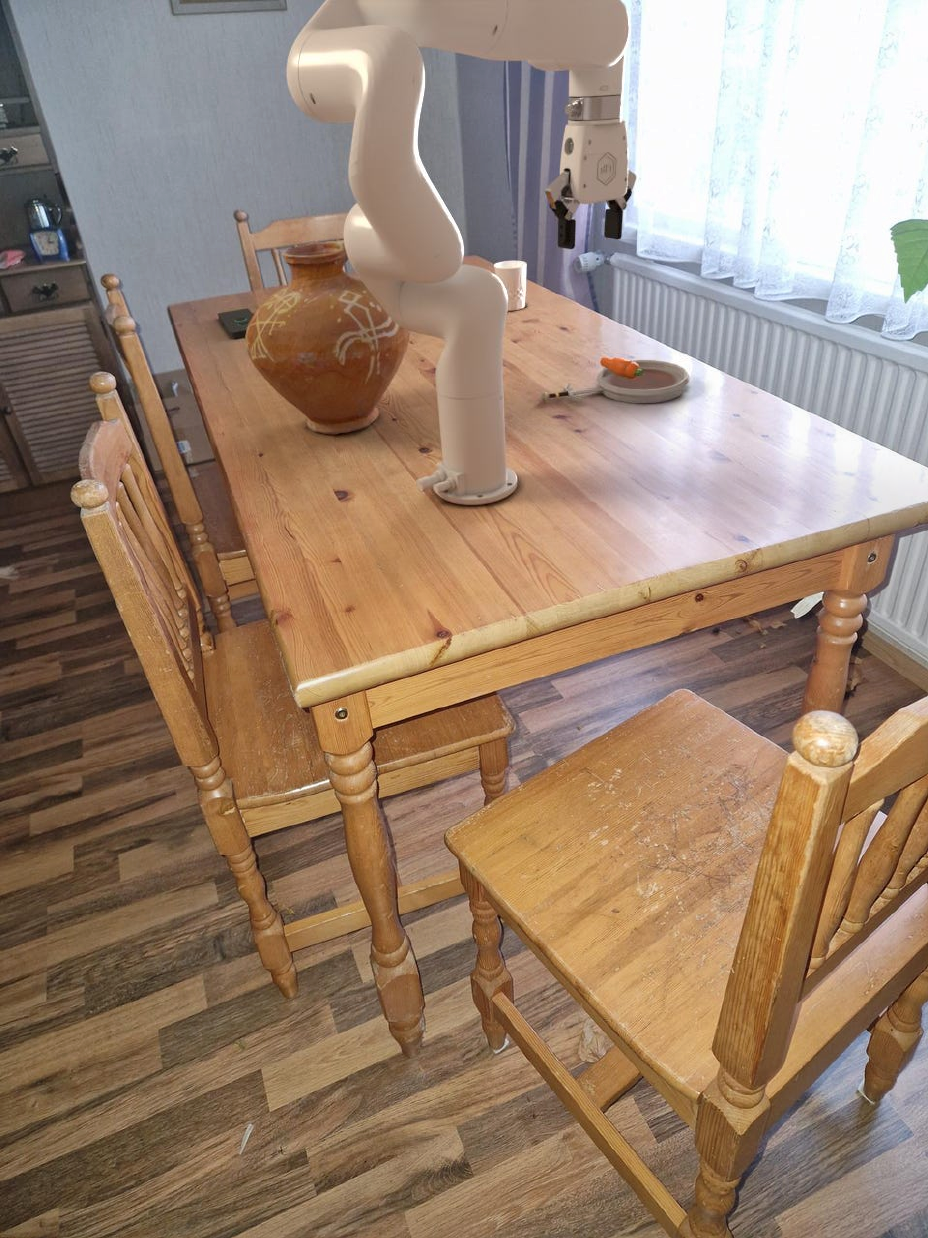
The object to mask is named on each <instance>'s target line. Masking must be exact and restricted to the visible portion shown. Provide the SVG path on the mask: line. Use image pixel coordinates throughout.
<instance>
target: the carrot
mask: <svg viewBox="0 0 928 1238" xmlns="http://www.w3.org/2000/svg"><path fill="white" fill-rule="evenodd" d="M599 363H600V366H602V367H603V368H605V367H606V368H609V369H610V371H611V372H612V373H614V374H617V375H620V376H623V377H626V378H629V379H633V378H636V377H637V376H641V375H642V374H643V371H642V370H640V367H639V365H638V364H637V363H635V362H633V361H631V360H630V359H626V358H623V357H619V356H617V357H614V358H612V357H608V356H603V357H602V358H601V359H600V362H599Z"/></svg>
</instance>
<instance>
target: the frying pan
mask: <svg viewBox="0 0 928 1238" xmlns="http://www.w3.org/2000/svg"><path fill="white" fill-rule="evenodd" d="M630 361H633V362H635V363H637V364H638V365H639V367H640V370H642V371H643V374H642V375H641V376H637V377H636V378H633V379H629V378H626V377H623V376H620V375H617V374H614V373H612V372H611V371H610V369H609V368H606V367H603V368H602V369H601V370H600V371H599V373H598V374H597V376H596V379H595V380H596V382H597V384H598V386H595V387H588V388H582V389H574V390H569V388H570V386H571V385H570V384H571V383H570V382H568V383H566V385H565V386H564V387H563V391H561V392H554V393H548V392H546V391H544V392H543V393H542V394H541V400H542V401H543V402H548V401H549V400H550V399H554V398H562V397H568V398H569V399H570V400H571V401H574V402H577V403H580V404H582V402H583V398H582V397H579V396H576V395H583V394H584V395H585V394H591V393H599V392H601V394H603V395H604V396H605V397H607V398H608V399H611V400H614V401H618V402H623V403H627V404H628V403H629V404H656V403H662V402H667V401H670V400H671V401H672V400H673V399H675V398H677V397H680V396H681V395H682V394H683V393H684V391H685V390H686V387H687V385H688V384H689V383H690V378H691V376H690V375H689V373H688V371H687V369H686V368H684V367H682V366H681V365H678V364H676V363H673V362H668V361H665V360H656V359H631V360H630Z"/></svg>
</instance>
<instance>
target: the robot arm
mask: <svg viewBox="0 0 928 1238" xmlns="http://www.w3.org/2000/svg"><path fill="white" fill-rule="evenodd" d="M630 35H631V23H630V17H629V14H628V10H627V7H626V5H625V4H624V3H623V1H622V0H324V2H323V3H322V4H321V5H320V6H319V8H318V9H317V10H316V12H315V13H314V14H313V15H312V17H311V18H310V19H309V21H307V23H306V24H305V25H304V26H303V27H302V29H301V31H300V32H299V33H298V34H297V35H296V38H295V39H294V41H293V44H292V45H291V47H290V50H289V53H288V57H287V62H286V81H287V88H288V90H289V93H290V96H291V98H292V100H293V102H294V104H295V106H297V108H298V109H299V110H300V111H301V112H302V113H303V114H304V115H305V116H307V117H308V118H310V119H312V120H315V121H318V122H321V123H329V124H334V123H335V124H336V123H338V124H340V123H343V124H346V123H347V124H348V123H349V124H351V123H352V124H353V127H352V136H351V144H350V151H349V157H348V158H349V159H348V167H347V168H348V169H347V172H348V173H347V175H348V183H349V187H350V190H351V193H352V196H353V198H354V200H355V202H356V203H355V204H354V205H353V206H352V207H351V208H350V210H349V211H348V213H347V215H346V217H345V221H344V226H343V240H344V244H345V250H346V253H347V256H348V261H349V263H350V265H351V267H352V269H353V270H354V272H355V273H356V275H357V276H358V278H360V279H361V280H362V281H363V283H364V284H365V285H366V287H367V288H368V289H369V291H370V292H371V293H372V295H373V296H374V297H375V299H376V300H377V301H378V302H379V304H380V305H381V306H382V308H383V309H384V310H385V312H386V313H387V314H388V315H389V316H390V318H391V319H392V320H393V321H394V322H395V323H397V324H398V325H399V326H400V327H402V328H404V329H406V330H409V331H410V332H412V333H416V334H420V335H426V336H430V337H435V338H438V339H441V340H444V346H443V349H442V351H441V354H440V356H439V358H438V360H437V363H436V367H435V373H434V382H435V391H436V400H437V401H436V402H437V413H438V424H439V435H440V437H439V438H440V447H441V458H442V461H438V462H436V470H434V471H433V472H432V474H430V475H426V476H423V477H421V478H418V479H416V480H415V486H416V489H417V490H418V492H420V493H423V492H426V491H429V490H431V489H433V492H434V493H435V494H437V496H438V497H439V498H441V499H443V500H445V501H447V502H450V503H452V504H457V505H464V506H477V505H478V506H479V505H486V504H492V503H495V502H498V501H502V500H503V499H505V498H507V497H509V496H510V495H511V494H513V493H514V492H515V491H516V489H517V487H518V476H517V473H516V472H515V471H514V470H513V469H511V468H510V467H509V466H507V443H506V442H507V441H506V420H505V419H506V417H505V416H506V415H505V393H504V391H505V390H504V372H503V371H504V357H503V356H504V339H505V330H506V325H507V318H508V312H509V311H508V296H507V292H506V289H505V286H504V284H503V283H502V281H501V280H500V279H499V278H498V277H497V276H496V275H495V274H494V272H492V271H490V270H489V269H487V268H483V267H481V266H476V265H473V264H472V265H471V264H465V263H463V262H464V258H465V257H464V256H465V247H464V240H463V237H462V234H461V231H460V229H459V227H458V225H457V224H456V221H455V220H454V218H453V217H452V215H451V212H450V211H449V209H448V208H447V205H446V204H445V202H444V201H443V199H442V197H441V196H440V195H441V194H439V192H438V190H437V188H436V187H435V185H434V183H433V181H432V180H431V178H430V177H429V174H428V172H427V171H426V168H425V166H424V164H423V161H422V159H421V157H420V152H419V147H418V145H419V143H418V141H419V140H418V138H419V127H420V117H421V112H422V106H423V102H424V95H425V87H426V72H425V71H426V70H425V65H424V59H423V56H422V53H421V51H420V48H430V49H435V50H438V51H439V50H440V51H445V52H451V53H457V54H462V55H467V56H470V57H474V58H478V59H483V60H489V61H501V62H523V61H526V62H527V63H528V65H530V66H531V67H533V68H534V69H536V70H540V71H543V72H544V71H545V72H561V71H562V72H563V71H568V73H569V74H568V75H569V76H568V80H569V81H568V104H566V105H565V107H564V113H565V115H566V116H567V117H568V118H567V124H565V127H564V132H563V137H562V145H561V151H560V152H561V153H560V163H559V175H558V176H557V177H556V178H555V179H554V180H552V181H551V182H550V183H549V185H547V186H546V187H545V189H544V193H545V195H546V198H547V201H548V203H549V205H548V207H549V209H550V210H551V211H552V212H553V215H554V218H555V219H557V247H558V248H561V249H567V250H574V249H575V247H576V234H577V233H576V231H577V227H576V226H577V222H576V218H575V219H574V215H575V214H576V212H577V210H578V209H579V207H580V205H581V204H582V205H590V204H591V205H592V204H597V203H603V202H605V203H606V205H607V206H608V208H605V212H604V229H603V236H604V238H606V239H610V240H611V239H612V240H618V241H619V240H621V239H622V234H623V220H624V219H623V218H624V211H625V210H626V209H627V207H628V204H627V203H628V202H629V200H630V198H631V197H632V195H633V194H632V193H633V189H634V186H635V184H636V181H637V175H636V174H635V173H634V172H633V171H631V170H630V169H629V142H628V141H629V140H628V131H627V125H626V121H625V120H622V119H623V103H624V102H623V100H624V87H625V86H624V84H625V68H626V67H625V66H626V51H627V47H628V44H629V41H630Z"/></svg>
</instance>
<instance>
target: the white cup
mask: <svg viewBox="0 0 928 1238" xmlns="http://www.w3.org/2000/svg"><path fill="white" fill-rule="evenodd" d="M493 274H495V275H496V276H497V277H498V278H499V279H500V280H501V281H502V283H503V284H504V286H505V289H506V292H507V296H508V311H507V312H512V311H519V310H522V309H524V308H525V306H526V304H525V303H526V293H527V292H526V291H527V262H526V261H522V260H504V261H503V260H502V261H499V262H496V263H494V264H493Z"/></svg>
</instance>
